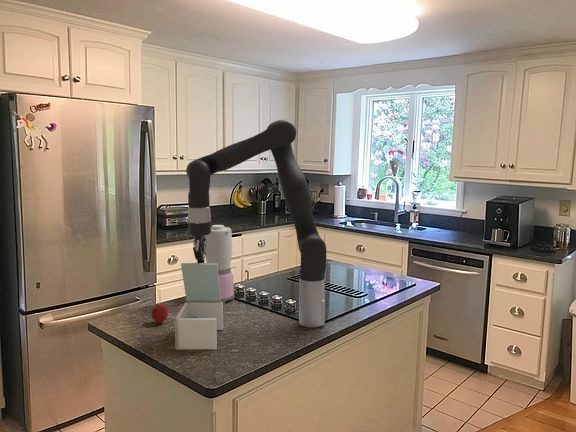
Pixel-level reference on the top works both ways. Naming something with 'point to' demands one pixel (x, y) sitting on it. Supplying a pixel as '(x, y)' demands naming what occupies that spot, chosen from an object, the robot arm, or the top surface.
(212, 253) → the blender
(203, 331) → the box
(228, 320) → the top surface
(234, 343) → the top surface
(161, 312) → the onion
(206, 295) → the lid
